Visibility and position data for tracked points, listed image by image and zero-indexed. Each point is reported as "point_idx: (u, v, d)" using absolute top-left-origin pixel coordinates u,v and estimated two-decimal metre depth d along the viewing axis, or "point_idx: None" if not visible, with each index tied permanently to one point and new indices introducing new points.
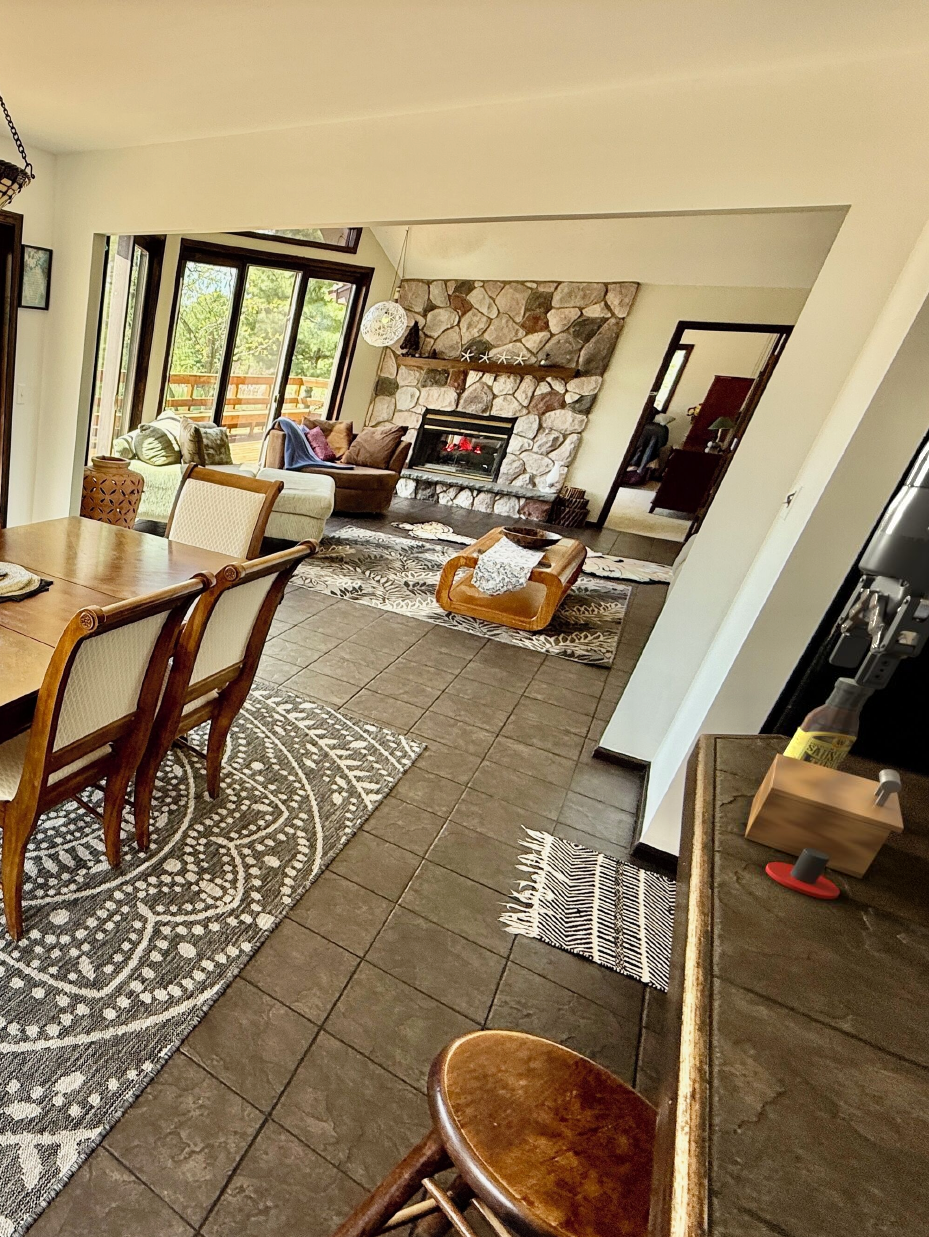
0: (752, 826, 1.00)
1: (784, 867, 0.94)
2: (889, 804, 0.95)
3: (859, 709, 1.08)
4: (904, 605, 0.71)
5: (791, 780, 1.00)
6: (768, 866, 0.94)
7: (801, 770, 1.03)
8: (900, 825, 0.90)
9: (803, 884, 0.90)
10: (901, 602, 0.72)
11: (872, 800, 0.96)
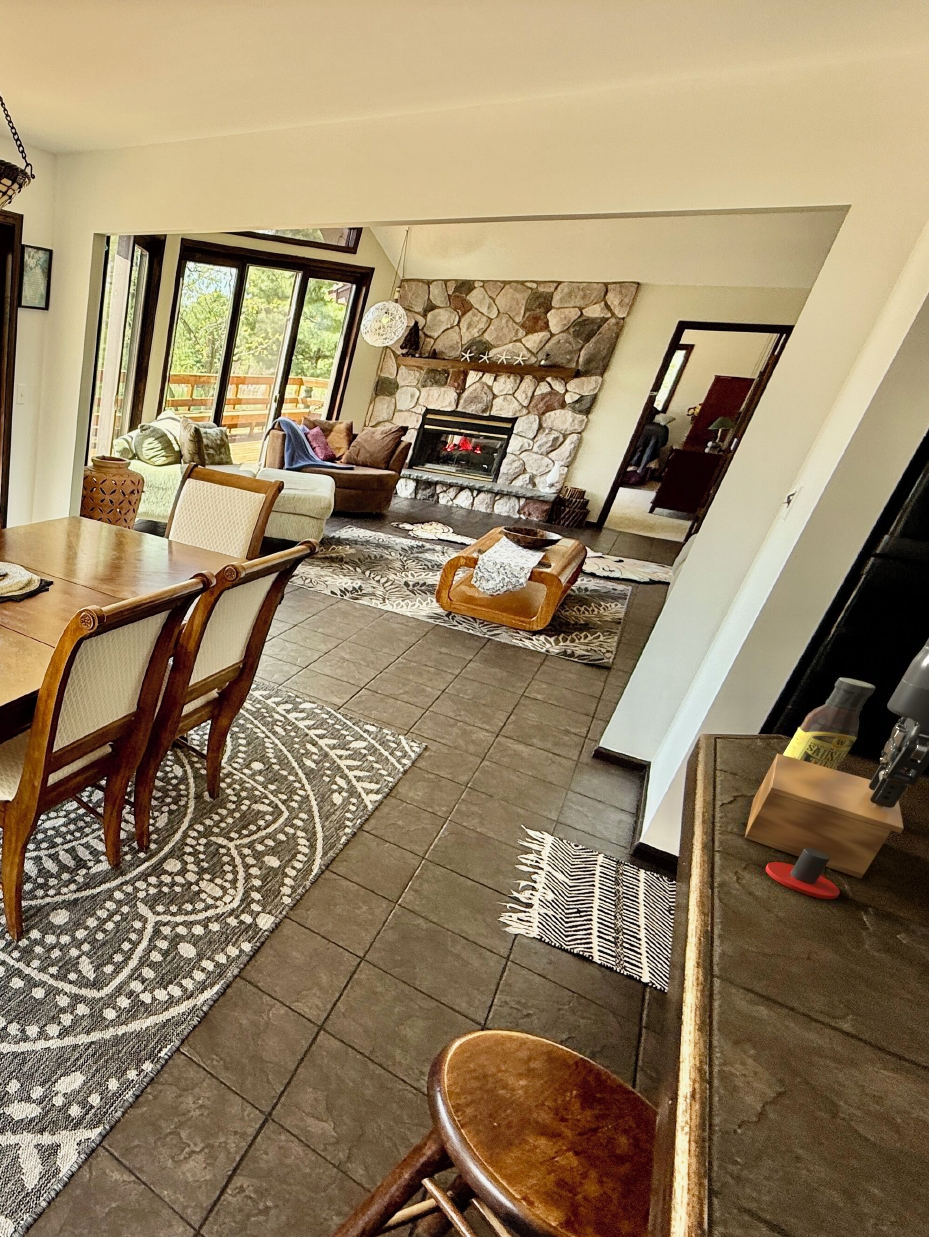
0: (752, 826, 1.00)
1: (784, 867, 0.94)
2: None
3: (859, 709, 1.08)
4: (904, 747, 0.89)
5: (791, 780, 1.00)
6: (768, 866, 0.94)
7: (801, 770, 1.03)
8: (900, 825, 0.90)
9: (803, 884, 0.90)
10: (912, 738, 0.90)
11: None
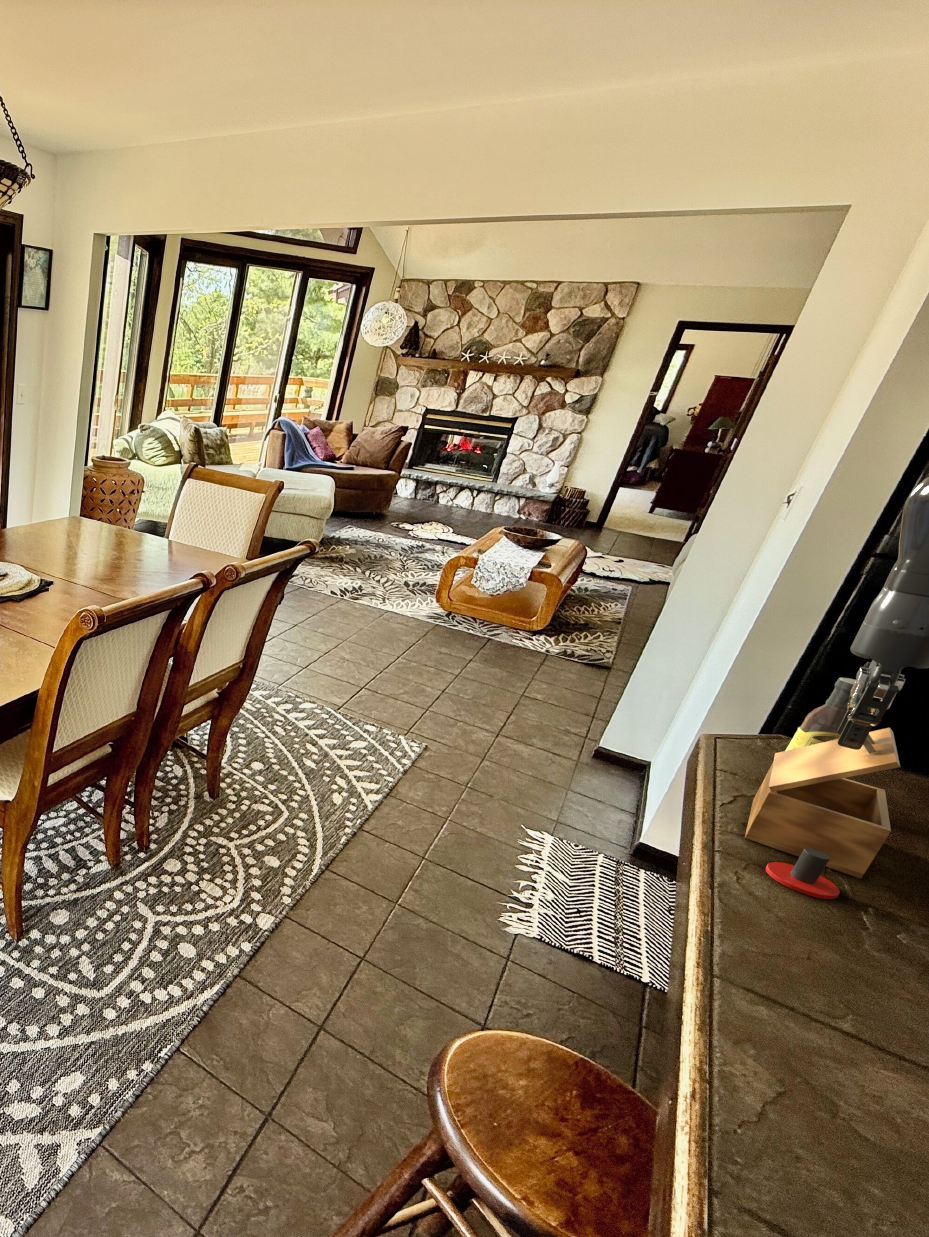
0: (752, 826, 1.00)
1: (784, 867, 0.94)
2: (882, 746, 0.95)
3: None
4: (867, 687, 0.91)
5: (787, 771, 1.00)
6: (768, 866, 0.94)
7: (797, 757, 1.03)
8: (893, 760, 0.89)
9: (803, 884, 0.90)
10: (874, 679, 0.91)
11: (865, 751, 0.95)
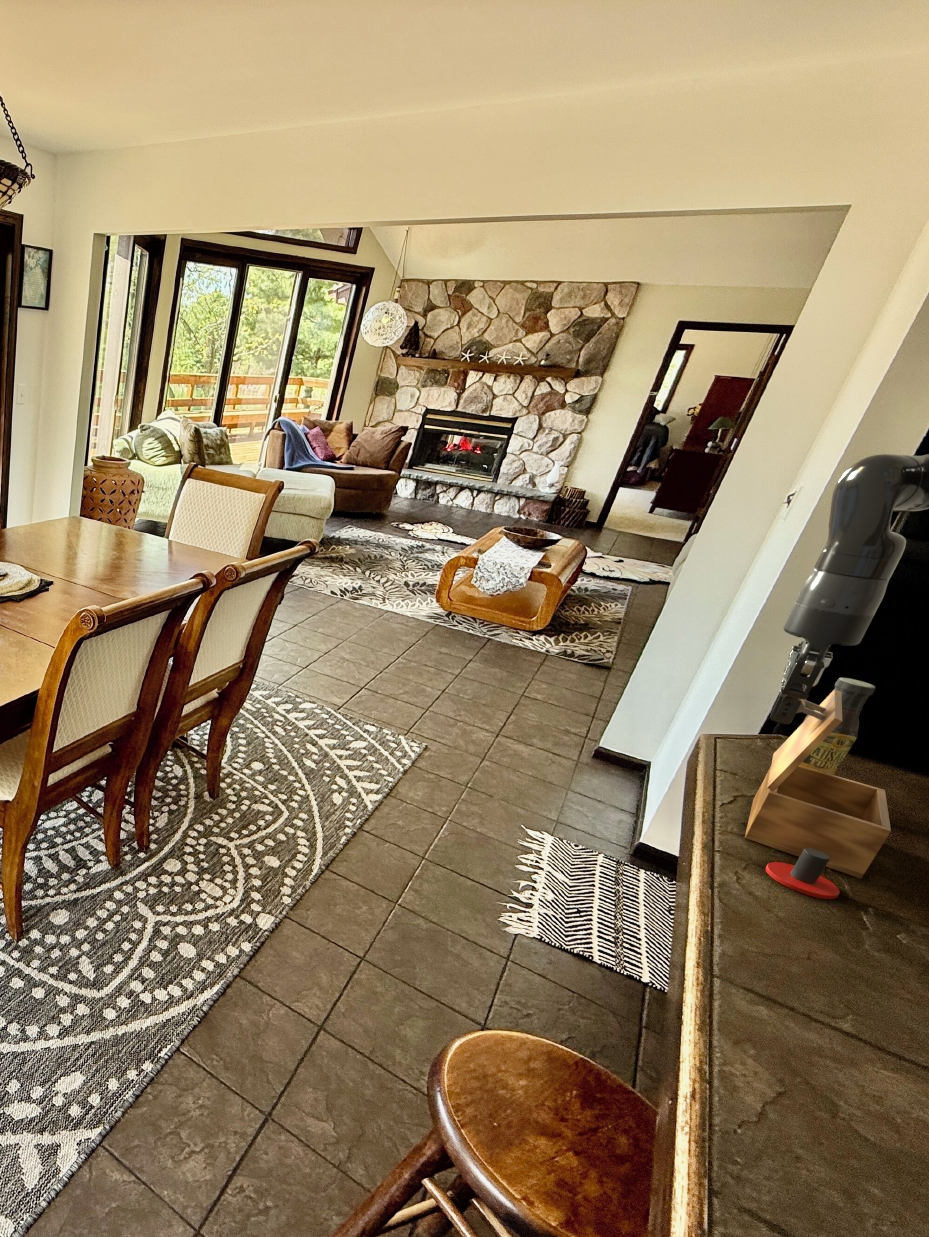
0: (752, 826, 1.00)
1: (784, 867, 0.94)
2: (829, 709, 0.97)
3: (859, 709, 1.08)
4: (796, 663, 0.95)
5: (778, 766, 1.01)
6: (768, 866, 0.94)
7: (784, 749, 1.04)
8: (833, 718, 0.93)
9: (803, 884, 0.90)
10: (803, 656, 0.96)
11: (820, 719, 0.98)
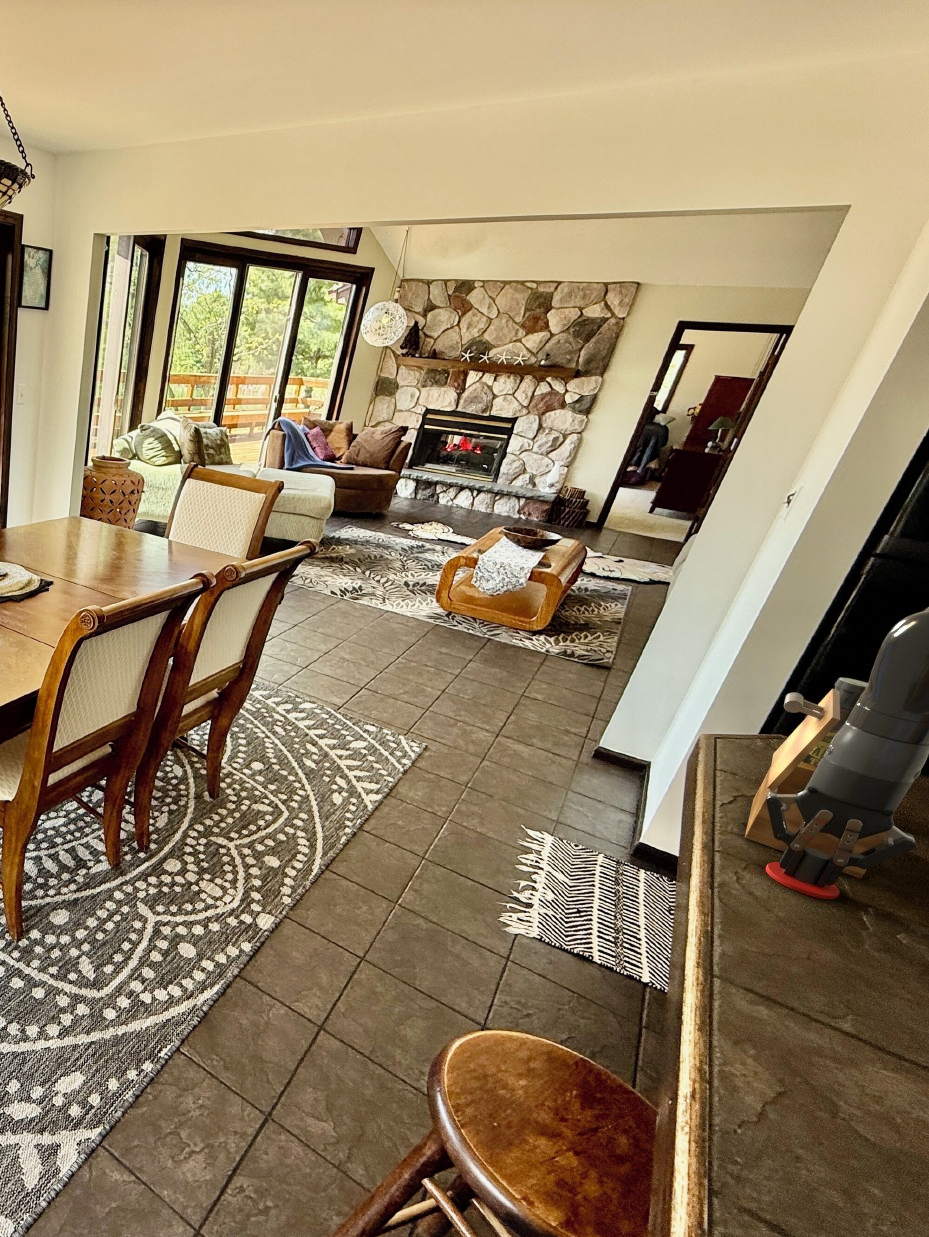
0: (752, 826, 1.00)
1: None
2: (827, 708, 0.98)
3: None
4: (904, 846, 0.84)
5: (778, 766, 1.01)
6: (768, 866, 0.94)
7: (784, 749, 1.04)
8: (831, 717, 0.93)
9: (803, 884, 0.90)
10: (890, 828, 0.84)
11: (818, 718, 0.98)
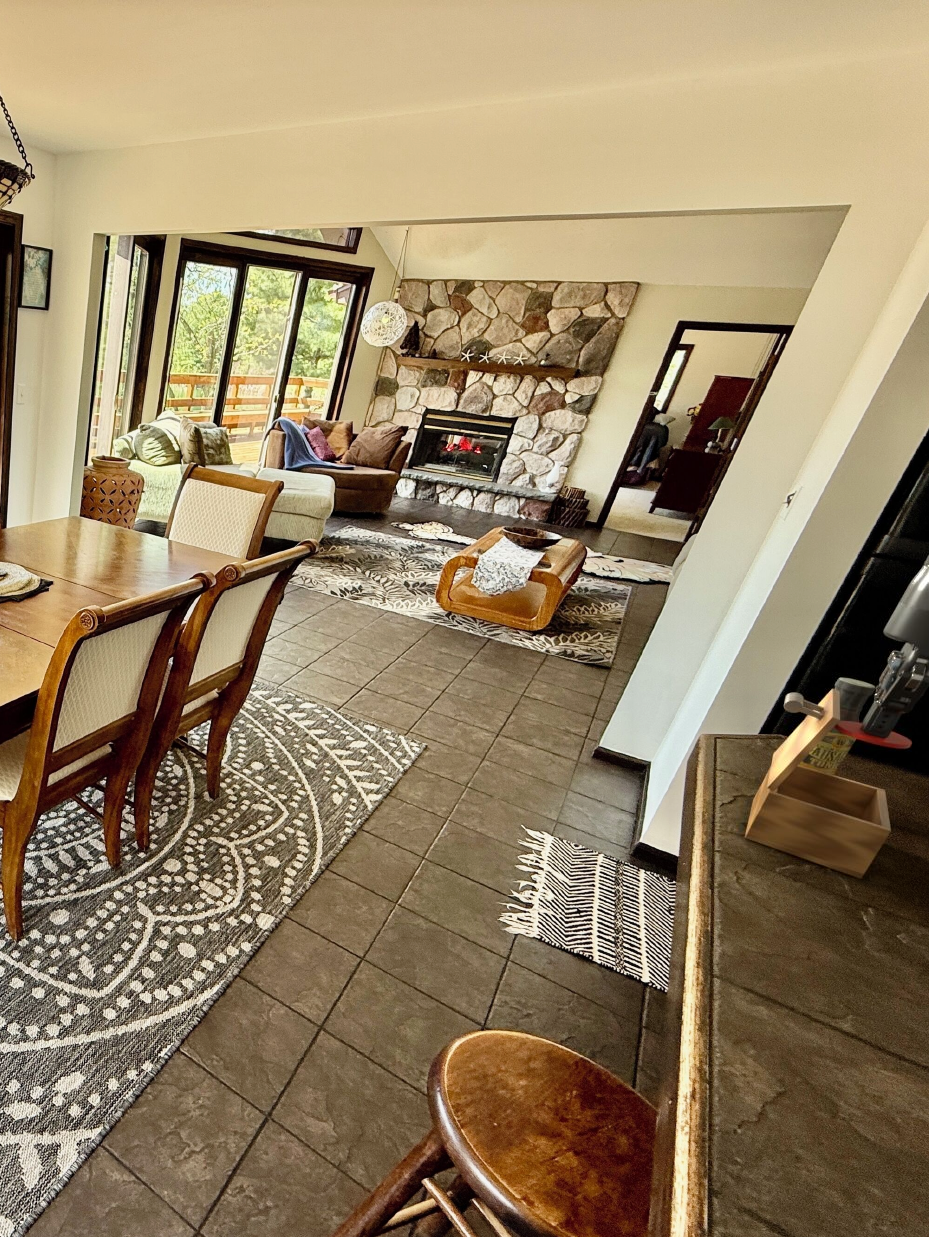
0: (752, 826, 1.00)
1: (858, 731, 0.91)
2: (827, 708, 0.98)
3: (859, 709, 1.08)
4: None
5: (778, 766, 1.01)
6: (877, 740, 0.89)
7: (784, 749, 1.04)
8: (831, 717, 0.93)
9: (894, 737, 0.90)
10: None
11: (818, 718, 0.98)
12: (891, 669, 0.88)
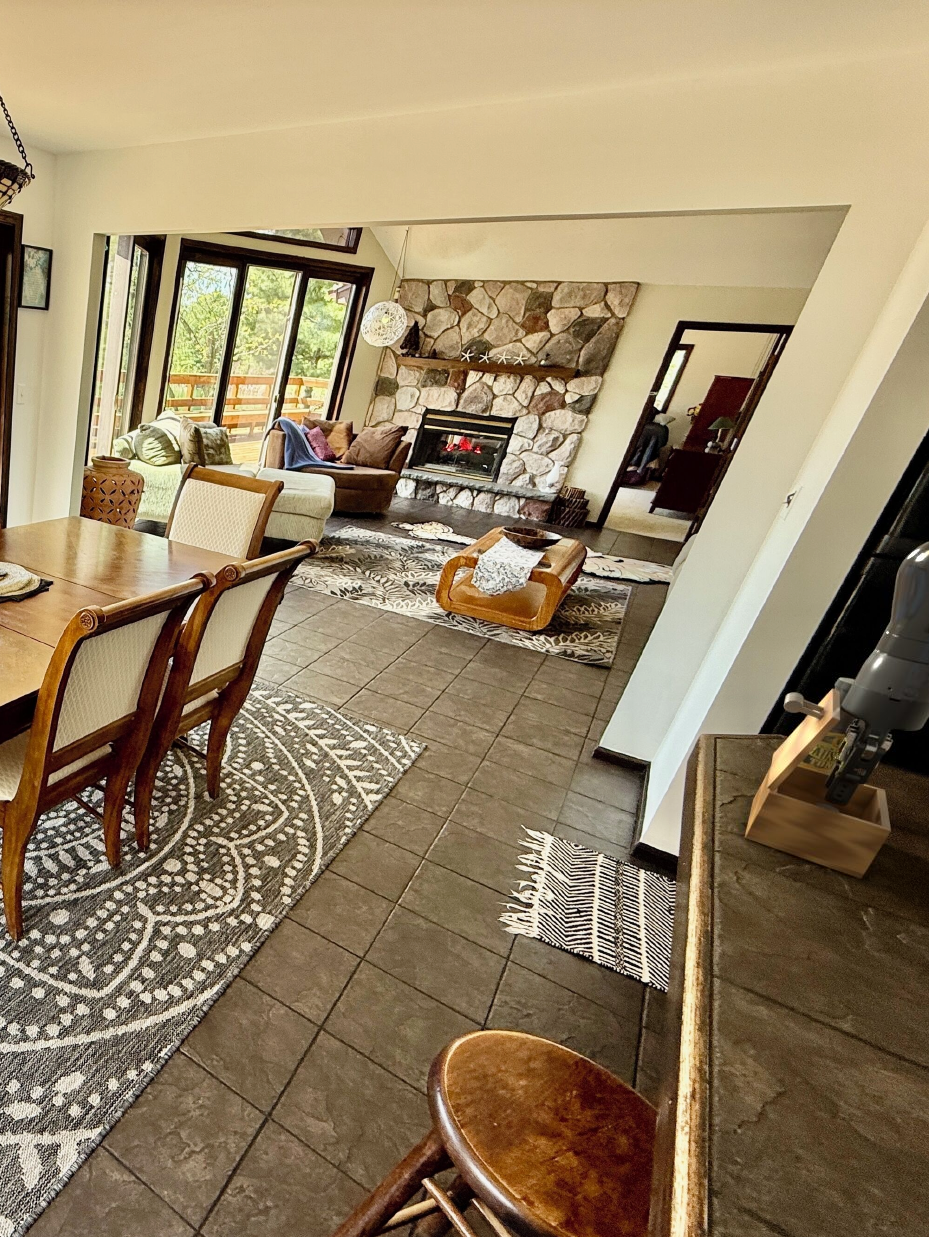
0: (752, 826, 1.00)
1: None
2: (827, 708, 0.98)
3: None
4: None
5: (778, 766, 1.01)
6: None
7: (784, 749, 1.04)
8: (831, 717, 0.93)
9: None
10: None
11: (818, 718, 0.98)
12: (847, 742, 0.96)
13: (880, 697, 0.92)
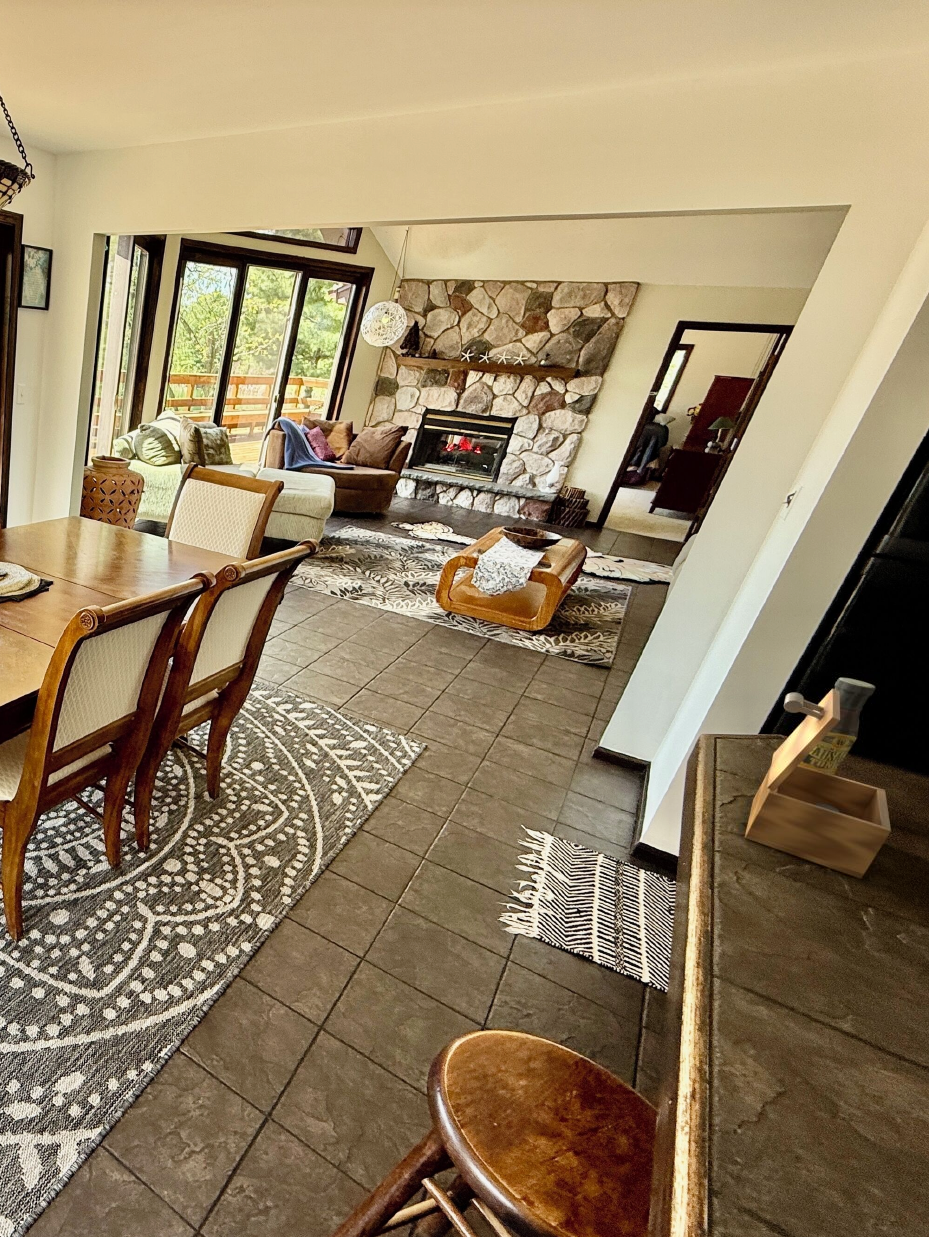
0: (752, 826, 1.00)
1: None
2: (827, 708, 0.98)
3: (859, 709, 1.08)
4: None
5: (778, 766, 1.01)
6: None
7: (784, 749, 1.04)
8: (831, 717, 0.93)
9: None
10: None
11: (818, 718, 0.98)
12: None
13: None
